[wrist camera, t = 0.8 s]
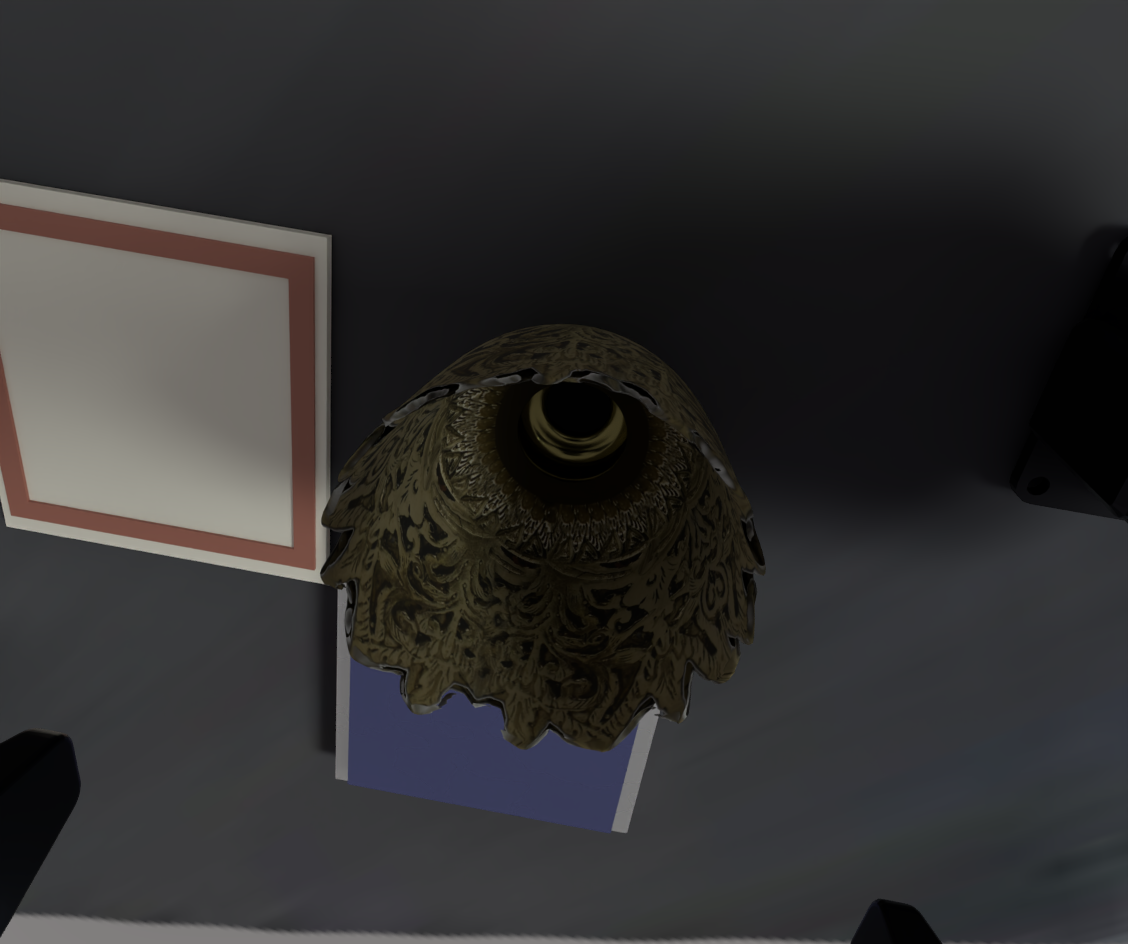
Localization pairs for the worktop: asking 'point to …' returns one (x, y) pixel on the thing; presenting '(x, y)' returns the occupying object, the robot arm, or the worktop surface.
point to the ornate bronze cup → (546, 542)
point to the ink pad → (477, 754)
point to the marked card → (165, 380)
